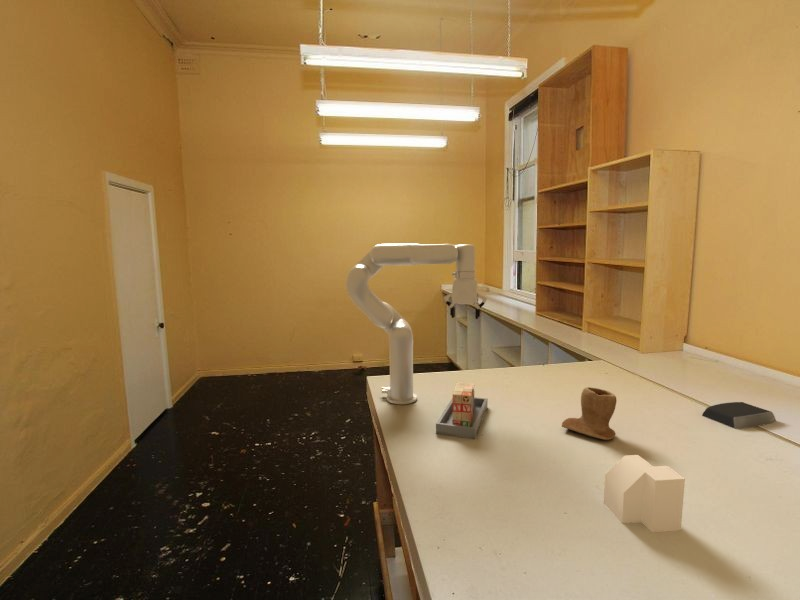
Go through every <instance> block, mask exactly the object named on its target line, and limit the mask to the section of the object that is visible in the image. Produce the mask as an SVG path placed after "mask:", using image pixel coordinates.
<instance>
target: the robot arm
mask: <svg viewBox="0 0 800 600" xmlns="http://www.w3.org/2000/svg"><path fill="white" fill-rule="evenodd" d="M453 263H455V271H454V272H451V276H453V277H455V278H453V281H452V288H451V293H449V294H447V295H445V296H444V297H443V300H444V301H445V304H446V305H447V306H448V307H449V310H450V311H449V312H450V313H449V314H450V316H451V318H452V319H454V318H455V317H456V308H455V306H456V305H474V307H475V308H476V309H475V313H474V314H475V316H474V317H475V320H478V319H479V317H480V316H481V308H482V307H484V305H485V304H486V302H487V300H488V297H486V296H485V295H482V294H481V293H480V292H479V287H478V279H477V278H475V277H476V247H475V245H474V244H472V243H469V244H467V243H466V244H463V243H462V244H460V243H459V244H452V243H438V244H436V243H435V244H428V243H427V244H420V243H410V242H409V243H381V244H380V243H378V244H376V245H374V246H373V247H372V248H371V249H370V250H369V251H368V253H366V254H365V255H364V256H363V257H362V258H361V259H360V260H359V261H358V262H357V263H356V264H355V265H354V266H352V267H351V268H350V270H349V271H348V273H347V277H346V281H345V288H346V293H347V295H348V297H349V299H350V300H351V302H352V303H353V304H354V305H355V306H356V307H357V308H358V309H359V310H360V311H361V312H362V313H363V314H364V315H365V316H366V317H367V318H368V320H370V321H371V323H372V324H373V325H374V326H376V327H378V328H381V329H382V330H383V331H384V332H385V333H386V334H387V336H388V349H389V350H388V351H389V354H388V355H389V356H388V357H389V386H388V387H386V386H381V388H380V391H381V393H382V394H386V397H385V398H386V401H387V402H388V403H391V404H394V405H409V404H413V403H414V402H416V401H417V400H418V395H417V393H415V392H414V363H413V362H414V332H413V330H412V327H411V325H410V323H409V322H408V321H407V320H406V319H405V318H404V317H403V316H402V315H401V314H400V313H399V312H398V311H397V310H396V309H395V308H394V307H393V306H392V305H391V304H389V303H388V302H386V301H383V300H381V298H379V297H378V296H377V295H376V293H375V292H373V291H372V289H370V287H369V282H370V280H371V279H372V278H373V277H374V276H375V275H376V274H377V273H378V272H379V271H380V270H381V269H383V267H388V266H390V267H391V266H419V265H450V264H453ZM449 298H451V301H450V300H449ZM479 299H480V300H482V301H481V302H480V303H479Z"/></svg>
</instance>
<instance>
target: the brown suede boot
mask: <svg viewBox="0 0 800 600" xmlns="http://www.w3.org/2000/svg"><path fill="white" fill-rule="evenodd" d="M580 394H581V395H580V407H581V416H580V417H578V418H577V417H568V418H566V419H564V420H563V421H562V423H561V427H562V428H563V429H564V428H565V429H567V430H569V431H570V430H571V431H572V432H576V433H579V434H582V435H586V436H587V437H588V436H589V437H592V438H596V439H599V440H605V441H608V440H609V441H610V440H612V439H614V438H615V437H616V431H615V430H614V429H612V428H611V427H610V424H609V423H610V421H611V419H612V417H613V416H614V413H615V409H616V407H617V406H616V405H617V396H616V395H615V394H614V393H613V392H611V391H608V390H605V389H601V388H599V387H598V388H597V387H590V386H589V387H588V386H586V387H584V388H583V389H582V392H581V393H580Z"/></svg>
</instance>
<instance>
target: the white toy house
mask: <svg viewBox="0 0 800 600" xmlns="http://www.w3.org/2000/svg"><path fill="white" fill-rule="evenodd" d="M685 481H686V478H684V476H682V475H680V474H679V473H678V472H676V471H675V470H674V469H672V467H670V466H668V465H659V466H653V465H652V464H650V462H648V461H647V460H646V459H644V458H643V457H642V456H640V455H639V454H631V455H629V454H628V455H624V456H622V458H620V459H619V461H618V462H617V463H615V464H614V465H613V467H612V468H611V469H609V471H607V473H605V474H604V483H603V484H604V488H603V505H604V506H605V507H606V506H607V507H608V508H609V509H608V508H607V507H606V508H607V509H608V510H609V511H610V512H611V513H612V514H613V515H614V516H615V518H616V519H617V520H618V519H619V520H620V521H621V522H620V521H619V520H618V521H619V522H620V523H621V524H630V522H634V523H642V522H643V523H644V524H645V525H644V524H643V523H642V524H643V525H644V526H645V527H646V528H647V529H648V530H649V531H650V532H651V533H657V532H669V531H670V532H673V531H681V530H682V522H683V520H682V519H683V509H684V507H683V506H684V498H685V497H684V496H685Z"/></svg>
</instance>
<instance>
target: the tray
mask: <svg viewBox="0 0 800 600" xmlns="http://www.w3.org/2000/svg"><path fill="white" fill-rule="evenodd" d="M487 410H488V398H483V397H475V396H474V412H473V420H472V426H471V427H467V426H460V425H452V420H453V397H452V398H451V399H450V401H449V403H448V404H447V406H446V407H445V409H444V410H443V412H442V414H441V415H440V417H439V418H438V420H437V421H436V423H435V434H437V435H443V436H451V437H456V438H457V437H458V438H463V439H471V440H475V439H476V437H477V434H478V433H479V430H480V428H481V425H482V421H483V419H484V417H485V415H486V412H487Z"/></svg>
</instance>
